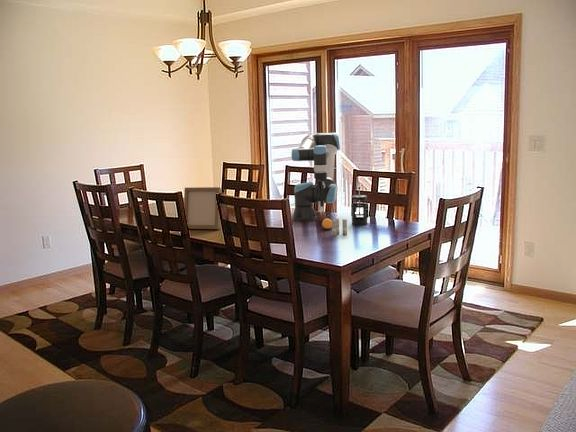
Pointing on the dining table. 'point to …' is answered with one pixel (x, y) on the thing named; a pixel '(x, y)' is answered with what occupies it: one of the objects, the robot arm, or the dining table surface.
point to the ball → (327, 223)
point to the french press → (356, 205)
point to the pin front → (337, 225)
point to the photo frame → (202, 207)
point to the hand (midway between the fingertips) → (321, 211)
